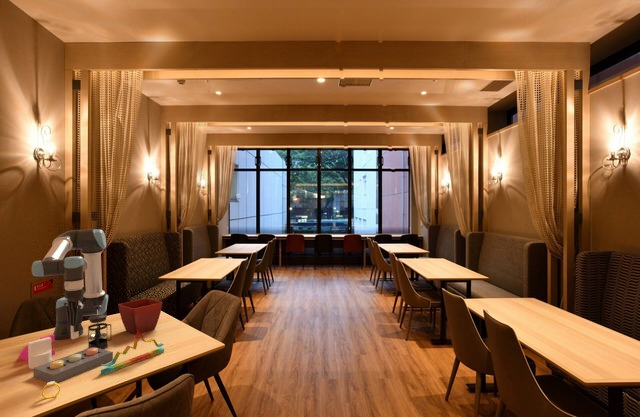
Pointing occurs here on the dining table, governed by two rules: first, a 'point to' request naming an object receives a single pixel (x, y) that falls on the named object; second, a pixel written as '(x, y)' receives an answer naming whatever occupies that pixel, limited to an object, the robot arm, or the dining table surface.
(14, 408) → the dining table surface
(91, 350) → the terracotta button
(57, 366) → the ochre button
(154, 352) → the chart
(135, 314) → the plant pot
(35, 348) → the translucent white block
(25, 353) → the bracket
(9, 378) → the dining table surface
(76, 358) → the sage button
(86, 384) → the dining table surface
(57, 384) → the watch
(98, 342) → the french press
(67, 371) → the button panel
